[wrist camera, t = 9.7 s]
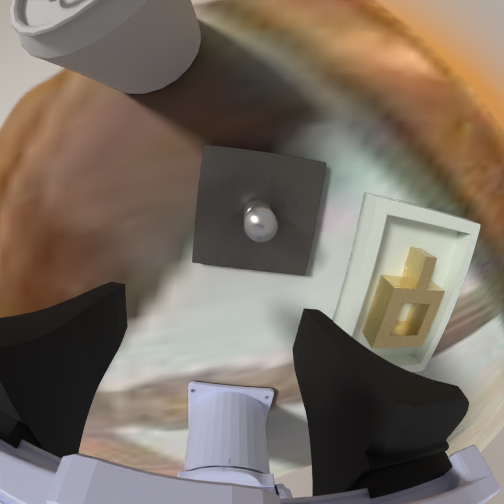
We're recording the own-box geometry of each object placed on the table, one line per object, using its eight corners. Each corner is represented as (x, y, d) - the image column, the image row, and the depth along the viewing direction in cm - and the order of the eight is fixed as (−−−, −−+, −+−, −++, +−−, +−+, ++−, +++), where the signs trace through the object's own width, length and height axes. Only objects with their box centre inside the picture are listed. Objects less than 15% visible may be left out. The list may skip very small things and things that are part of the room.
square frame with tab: (410, 331, 23) (422, 346, 21) (361, 332, 23) (371, 348, 21) (438, 251, 21) (455, 261, 18) (389, 243, 20) (404, 253, 18)
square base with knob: (302, 270, 21) (316, 298, 17) (193, 258, 21) (182, 284, 16) (322, 162, 19) (344, 164, 15) (205, 145, 18) (194, 142, 14)
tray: (414, 358, 25) (423, 370, 23) (319, 360, 24) (325, 377, 22) (465, 218, 20) (480, 224, 18) (364, 192, 19) (377, 197, 17)
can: (205, 2, 14) (175, -107, 3) (201, 90, 17) (148, 10, 5) (109, 19, 14) (24, -50, 3) (101, 104, 17) (-19, 77, 5)
